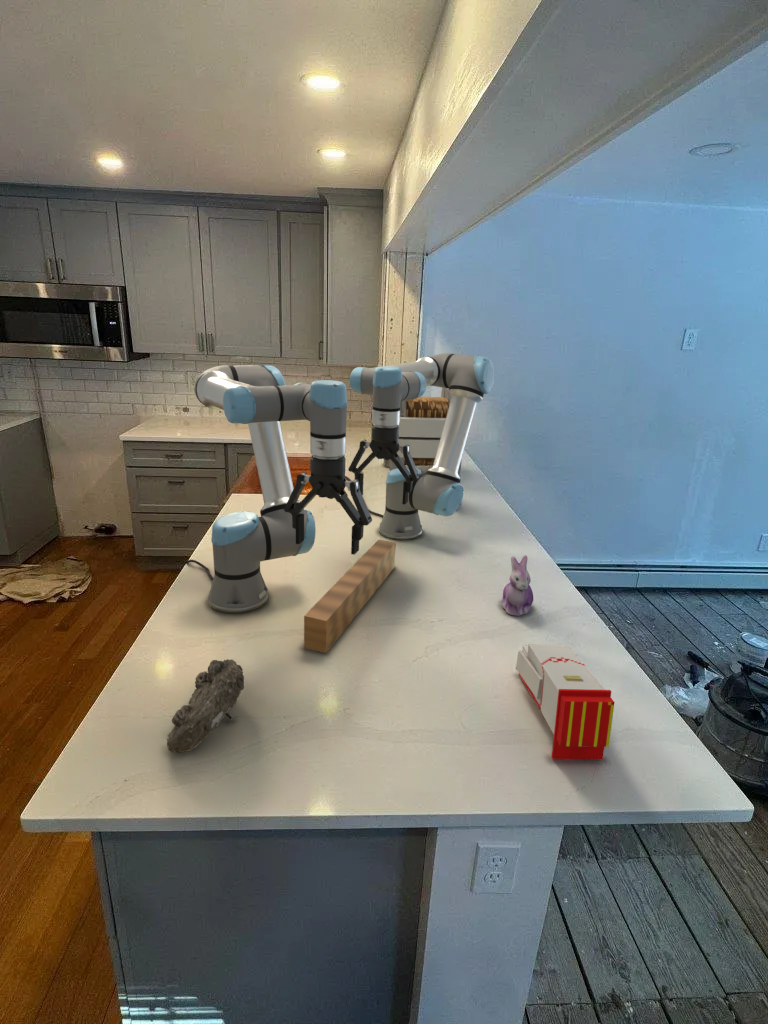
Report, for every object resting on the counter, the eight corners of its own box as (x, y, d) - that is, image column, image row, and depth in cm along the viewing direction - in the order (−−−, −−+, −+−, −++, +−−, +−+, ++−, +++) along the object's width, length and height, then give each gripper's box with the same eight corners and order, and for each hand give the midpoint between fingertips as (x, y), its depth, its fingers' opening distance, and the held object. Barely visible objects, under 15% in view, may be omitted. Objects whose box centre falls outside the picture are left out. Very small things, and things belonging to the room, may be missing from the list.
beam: (377, 564, 175) (378, 539, 172) (394, 567, 174) (395, 542, 171) (304, 647, 131) (303, 615, 128) (325, 653, 129) (326, 620, 127)
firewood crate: (382, 463, 289) (386, 382, 275) (445, 464, 293) (451, 384, 279) (390, 482, 257) (394, 392, 243) (460, 483, 261) (468, 394, 247)
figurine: (515, 620, 147) (523, 568, 141) (491, 602, 155) (497, 552, 150) (543, 613, 151) (551, 562, 146) (518, 596, 159) (525, 547, 154)
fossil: (192, 660, 117) (244, 628, 112) (224, 691, 120) (276, 661, 115) (142, 746, 98) (202, 712, 93) (182, 779, 101) (242, 748, 96)
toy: (564, 626, 126) (624, 698, 97) (558, 682, 129) (615, 767, 100) (510, 625, 126) (554, 696, 96) (506, 681, 128) (547, 766, 99)
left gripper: (267, 452, 121) (269, 543, 128) (376, 467, 113) (373, 563, 121) (284, 445, 128) (285, 532, 135) (389, 458, 120) (384, 550, 127)
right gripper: (337, 423, 154) (336, 496, 161) (426, 433, 147) (420, 510, 154) (348, 418, 161) (346, 489, 168) (433, 427, 153) (428, 502, 161)
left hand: (327, 547), depth 128 cm, fingers open, 13 cm apart
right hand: (382, 499), depth 161 cm, fingers open, 13 cm apart
